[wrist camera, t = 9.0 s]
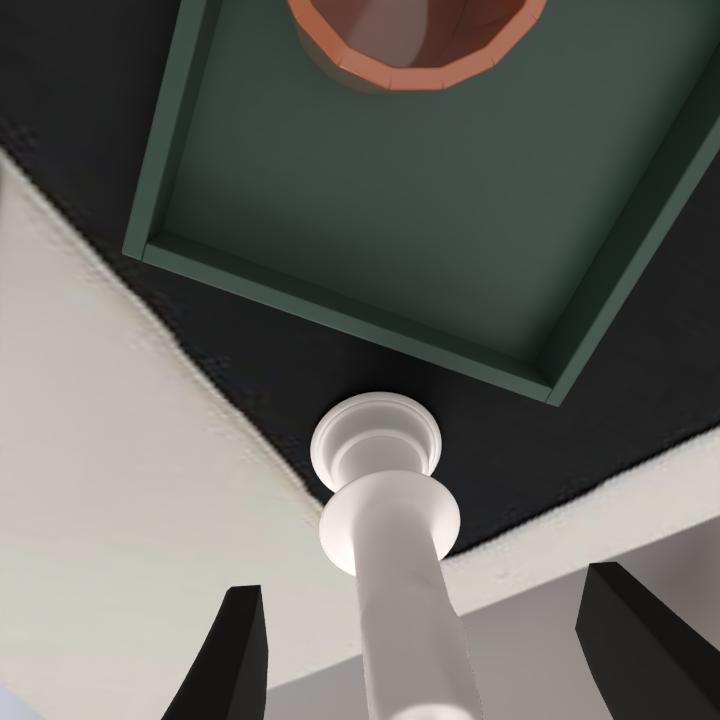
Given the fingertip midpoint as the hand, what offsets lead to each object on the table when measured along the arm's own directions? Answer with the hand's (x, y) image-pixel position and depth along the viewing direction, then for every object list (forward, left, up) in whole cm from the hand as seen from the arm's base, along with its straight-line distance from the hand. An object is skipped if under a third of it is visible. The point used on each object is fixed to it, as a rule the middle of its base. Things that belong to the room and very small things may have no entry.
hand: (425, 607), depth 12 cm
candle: (+1, -3, -10) cm, 11 cm away
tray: (-2, +9, -10) cm, 14 cm away
